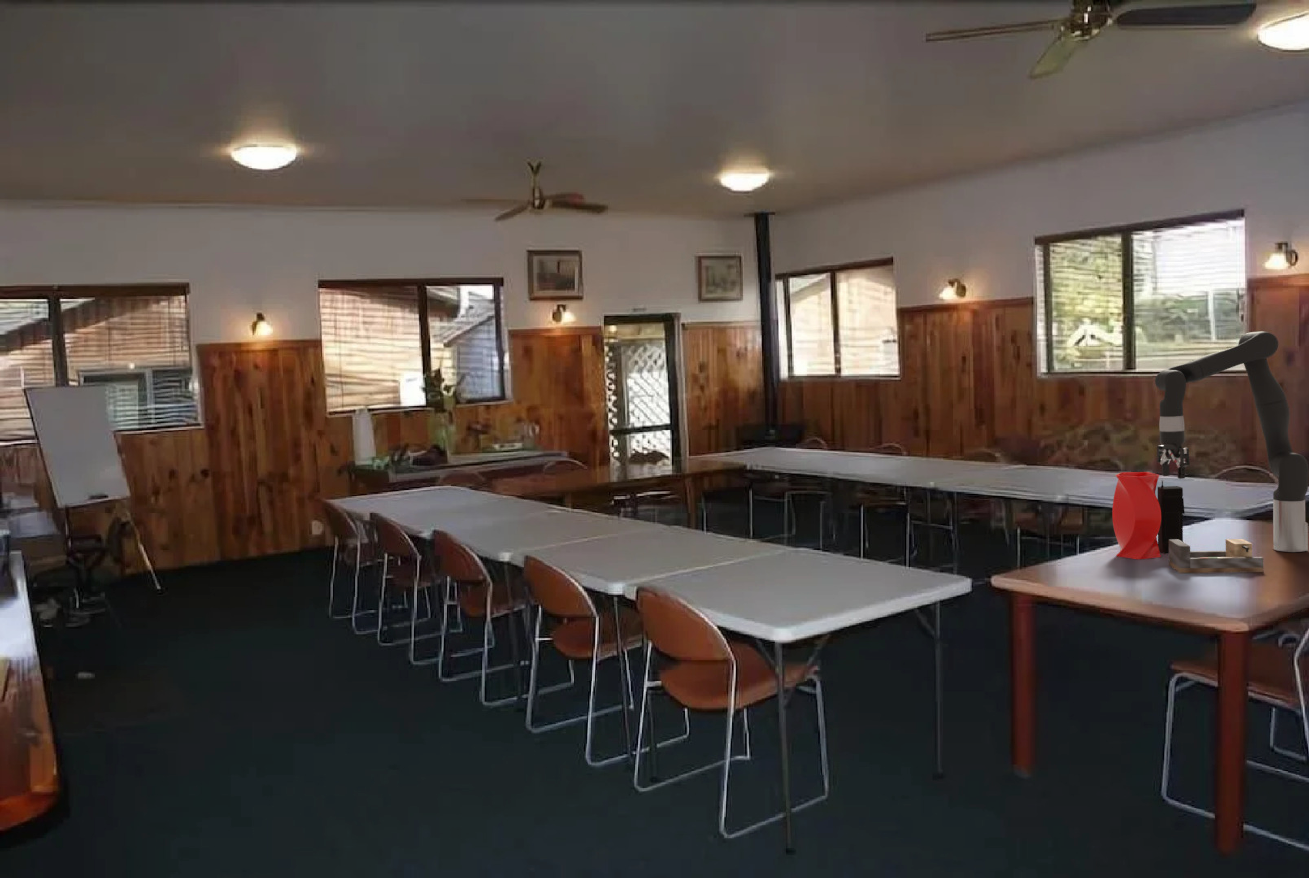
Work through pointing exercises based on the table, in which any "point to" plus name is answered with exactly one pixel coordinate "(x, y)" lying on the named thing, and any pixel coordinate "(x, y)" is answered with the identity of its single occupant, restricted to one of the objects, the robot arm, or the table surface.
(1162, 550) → the portable radio
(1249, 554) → the block
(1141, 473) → the vase
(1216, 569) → the grey piece
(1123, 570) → the table surface
